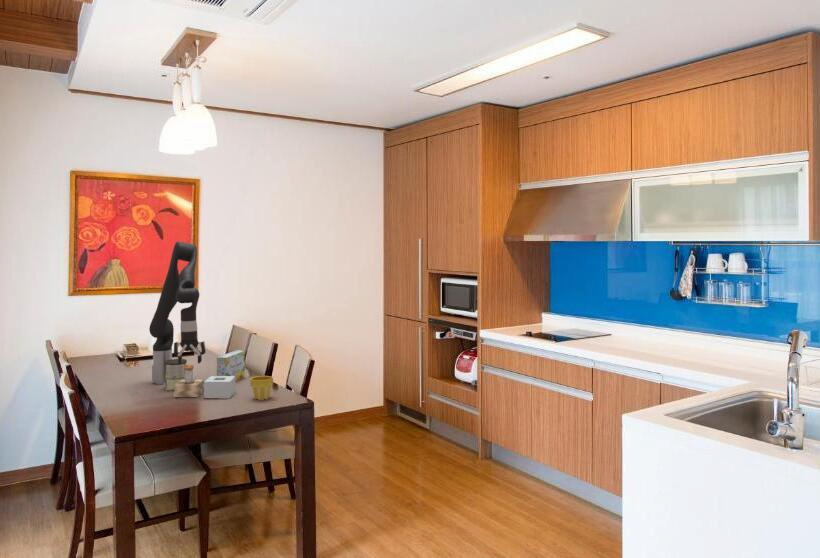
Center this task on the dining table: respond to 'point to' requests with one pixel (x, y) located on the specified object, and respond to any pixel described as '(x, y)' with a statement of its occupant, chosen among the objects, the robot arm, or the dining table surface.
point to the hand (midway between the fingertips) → (190, 363)
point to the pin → (188, 374)
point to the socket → (219, 387)
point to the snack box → (232, 364)
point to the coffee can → (174, 372)
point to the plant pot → (261, 386)
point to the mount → (189, 389)
